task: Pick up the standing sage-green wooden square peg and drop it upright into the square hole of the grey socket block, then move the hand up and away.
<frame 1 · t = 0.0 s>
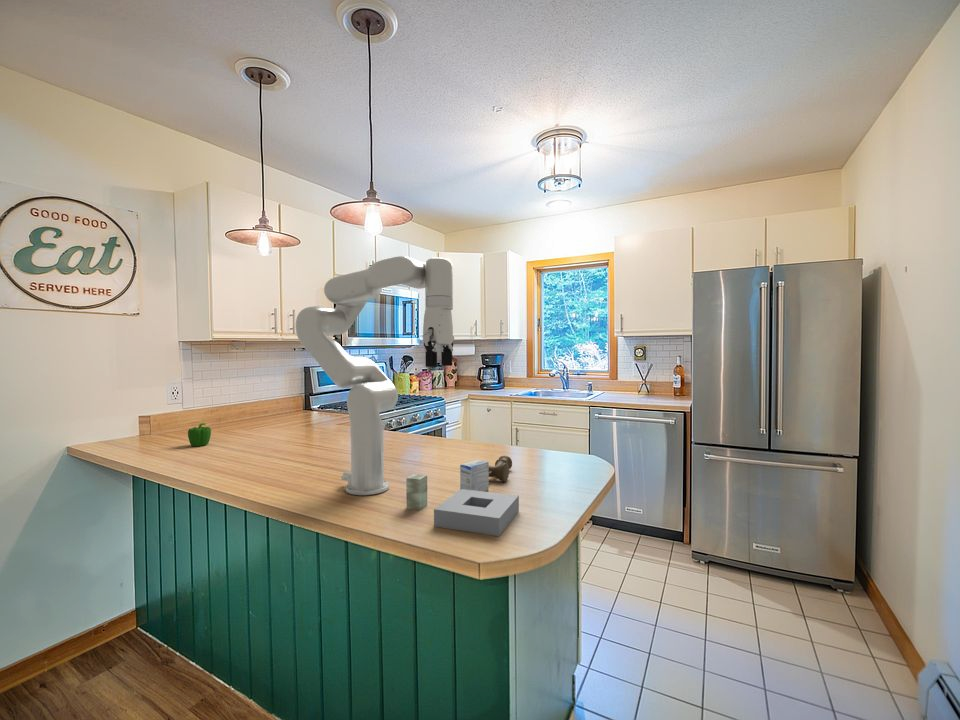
hand: (439, 366, 120), 37 cm above the countertop, tool pointing down, fingers open, 9 cm apart
bell pepper: (199, 446, 191), on the countertop
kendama: (496, 478, 141), on the countertop
medicine box: (474, 493, 126), on the countertop
socket block: (478, 518, 106), on the countertop
peg: (417, 506, 114), on the countertop
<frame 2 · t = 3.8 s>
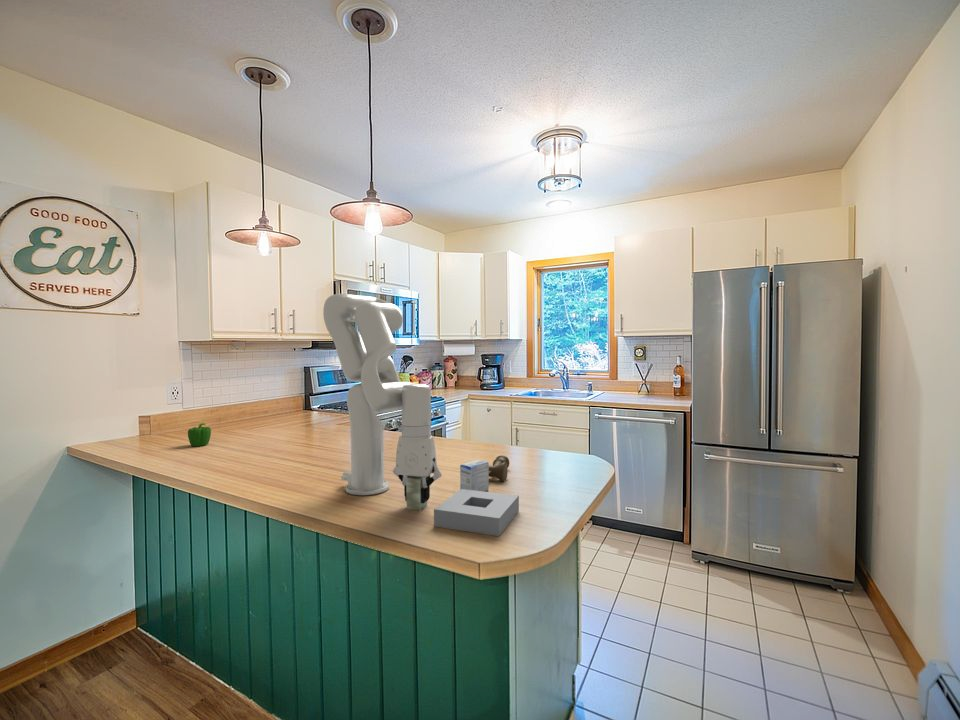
hand: (417, 499, 114), 2 cm above the countertop, tool pointing down, fingers closed on peg, 4 cm apart
peg: (417, 506, 114), on the countertop, touching gripper
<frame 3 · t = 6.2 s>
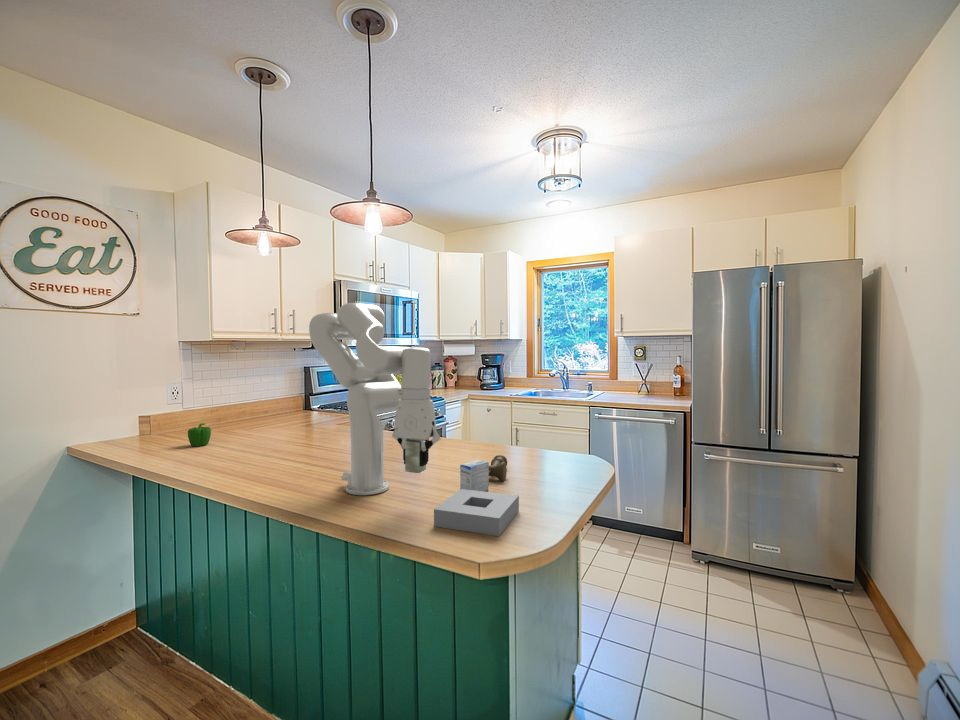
hand: (415, 463, 114), 11 cm above the countertop, tool pointing down, fingers closed on peg, 3 cm apart
peg: (415, 470, 114), point 9 cm above the countertop, touching gripper
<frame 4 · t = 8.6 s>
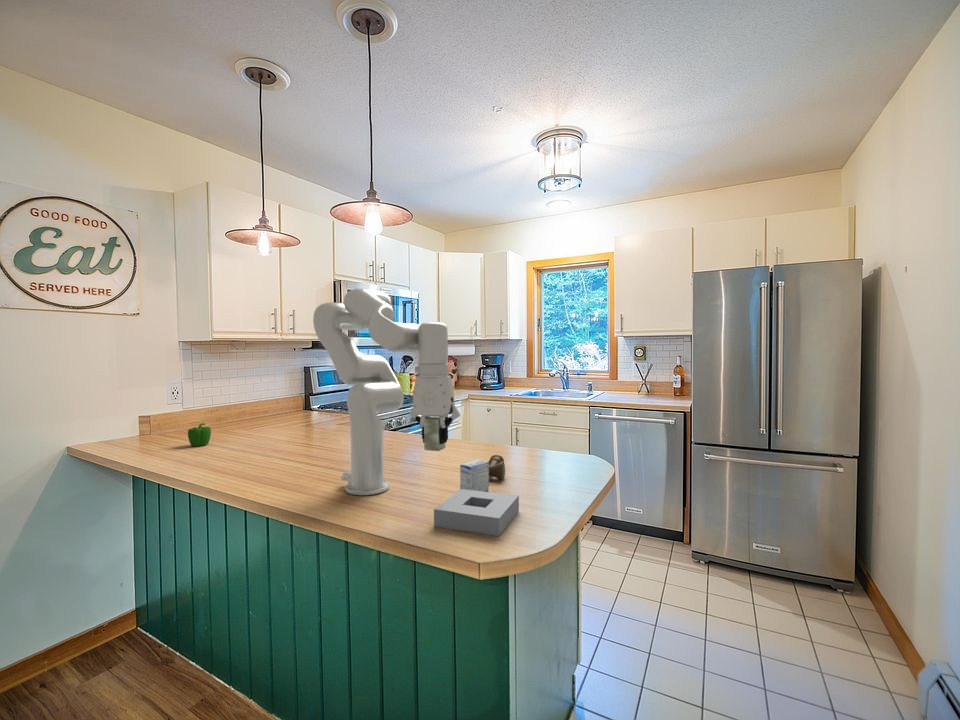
hand: (435, 441, 111), 18 cm above the countertop, tool pointing down, fingers closed on peg, 3 cm apart
peg: (435, 449, 111), point 16 cm above the countertop, touching gripper
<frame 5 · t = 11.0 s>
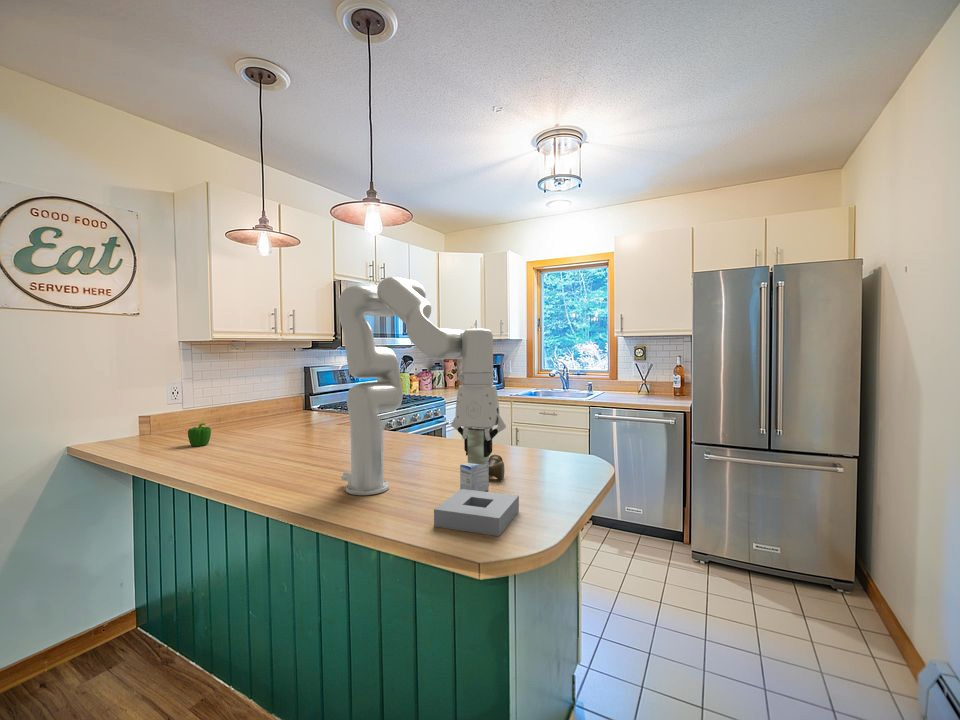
hand: (478, 454, 106), 16 cm above the countertop, tool pointing down, fingers closed on peg, 4 cm apart
peg: (478, 461, 106), point 14 cm above the countertop, touching gripper
when the fingers open (6 cm above the countertop, at t = 13.3 s): peg drops 4 cm, resting on socket block.
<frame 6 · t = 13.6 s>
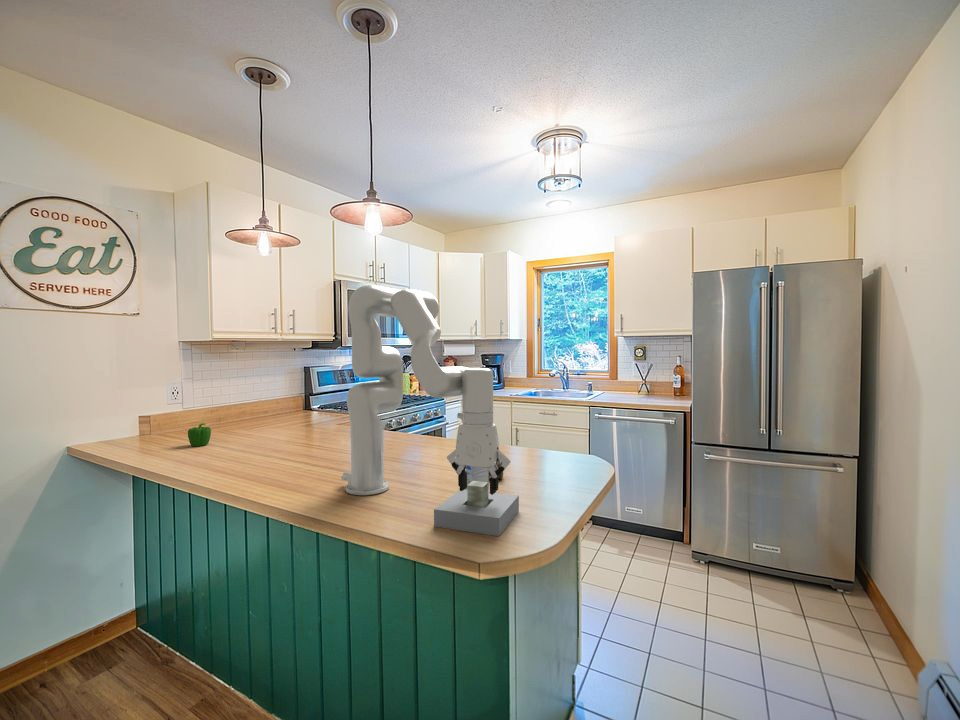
hand: (478, 490, 106), 7 cm above the countertop, tool pointing down, fingers open, 7 cm apart
peg: (478, 516, 106), resting on socket block
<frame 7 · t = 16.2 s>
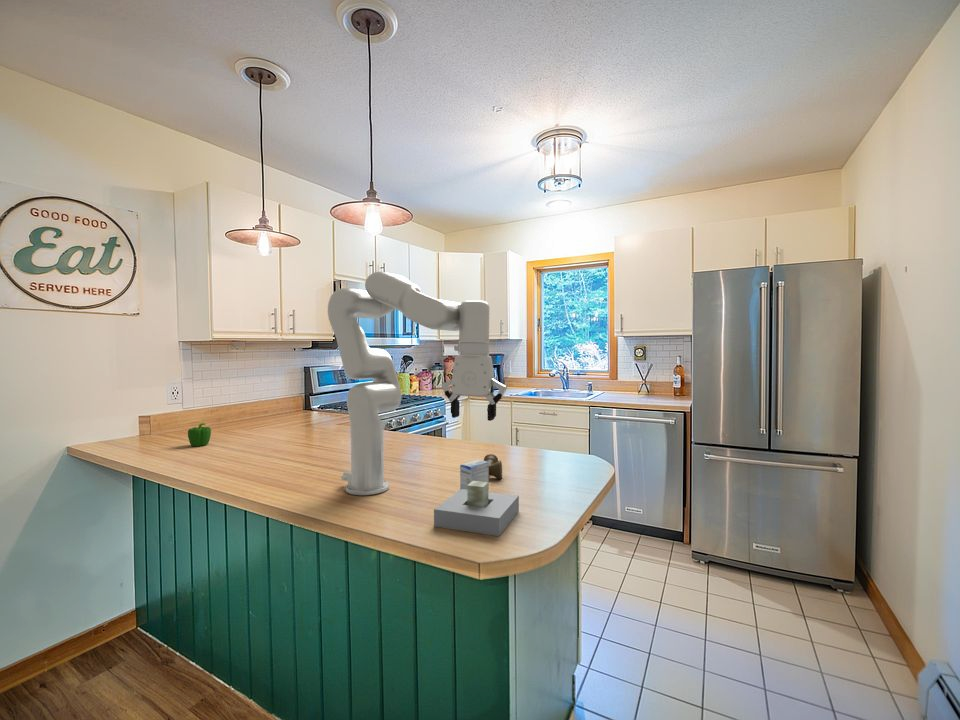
hand: (473, 418, 109), 24 cm above the countertop, tool pointing down, fingers open, 9 cm apart
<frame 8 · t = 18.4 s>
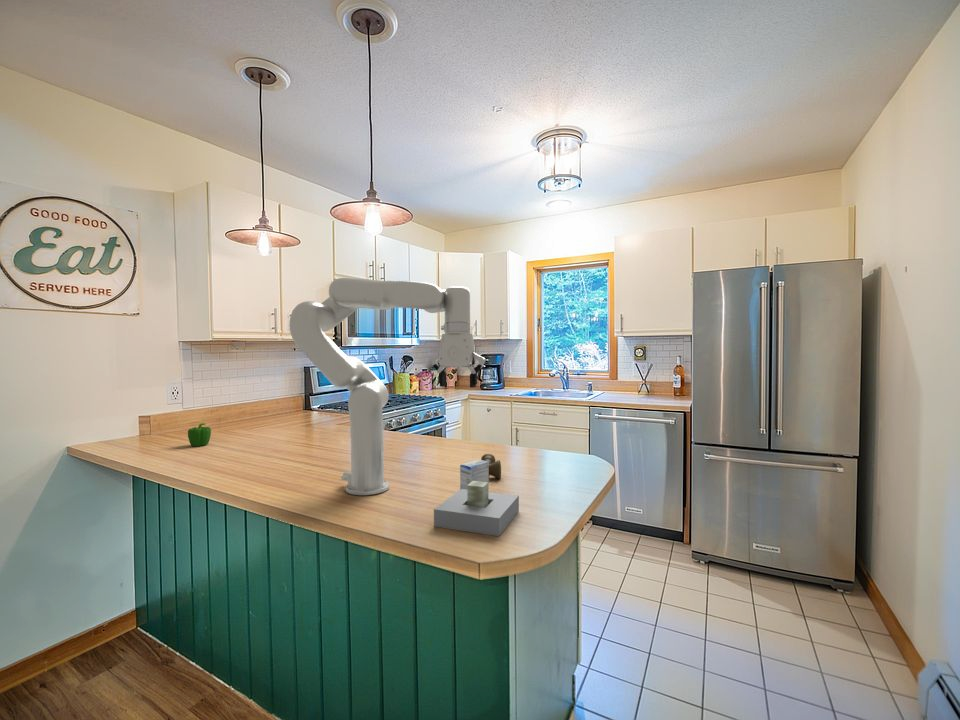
hand: (457, 386, 129), 30 cm above the countertop, tool pointing down, fingers open, 9 cm apart
at the end: peg 0.0 cm off-centre on the socket block, point 0.5 cm above the socket block's base; peg tilted 0°; the gripper is holding nothing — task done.
